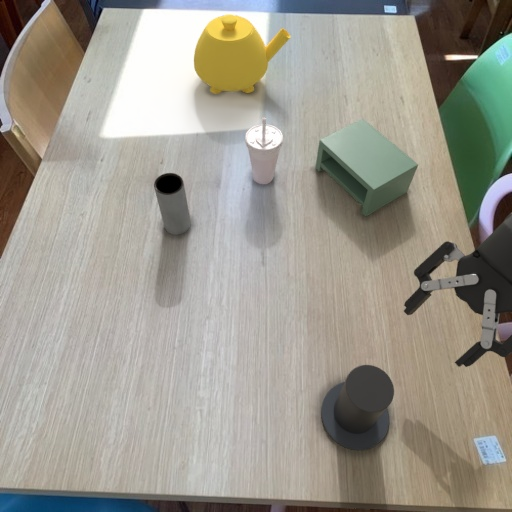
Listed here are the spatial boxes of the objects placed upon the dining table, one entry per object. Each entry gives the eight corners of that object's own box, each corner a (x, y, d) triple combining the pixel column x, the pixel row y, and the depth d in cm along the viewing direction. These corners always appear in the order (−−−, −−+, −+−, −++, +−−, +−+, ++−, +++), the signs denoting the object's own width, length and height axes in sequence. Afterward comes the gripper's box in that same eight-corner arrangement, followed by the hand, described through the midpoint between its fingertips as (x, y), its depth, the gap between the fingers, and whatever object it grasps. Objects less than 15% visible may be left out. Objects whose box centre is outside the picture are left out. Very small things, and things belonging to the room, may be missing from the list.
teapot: (285, 56, 108) (288, -5, 97) (290, 101, 99) (295, 40, 88) (196, 58, 107) (190, -3, 96) (194, 103, 99) (187, 42, 87)
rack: (407, 192, 86) (418, 164, 80) (365, 216, 82) (374, 189, 77) (355, 146, 92) (362, 118, 86) (315, 168, 89) (319, 139, 83)
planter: (173, 239, 80) (163, 199, 71) (159, 222, 82) (148, 180, 73) (196, 226, 81) (189, 185, 72) (182, 210, 83) (173, 168, 74)
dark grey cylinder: (383, 409, 64) (403, 385, 55) (360, 443, 61) (377, 422, 53) (349, 383, 66) (362, 355, 57) (325, 414, 63) (335, 390, 55)
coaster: (401, 411, 64) (402, 410, 64) (364, 465, 60) (365, 465, 60) (346, 369, 67) (346, 368, 67) (307, 418, 63) (307, 417, 63)
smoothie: (243, 187, 86) (241, 127, 74) (248, 162, 89) (247, 101, 78) (278, 191, 85) (282, 131, 74) (282, 165, 89) (286, 104, 77)
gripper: (589, 285, 54) (482, 378, 60) (488, 206, 60) (401, 296, 66) (588, 285, 48) (469, 388, 53) (476, 197, 54) (381, 297, 60)
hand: (431, 337), depth 60 cm, fingers open, 8 cm apart
